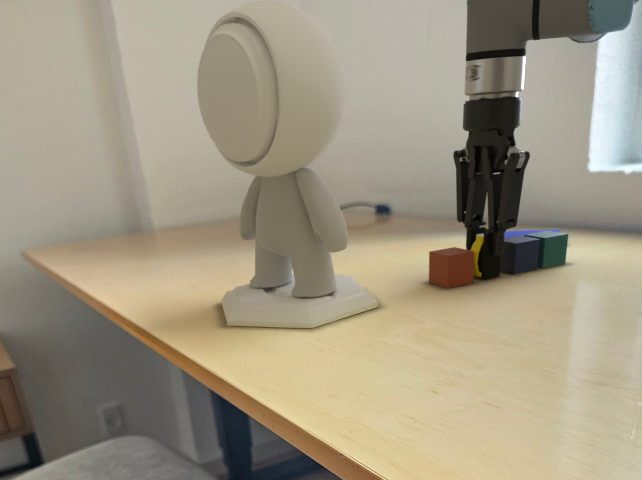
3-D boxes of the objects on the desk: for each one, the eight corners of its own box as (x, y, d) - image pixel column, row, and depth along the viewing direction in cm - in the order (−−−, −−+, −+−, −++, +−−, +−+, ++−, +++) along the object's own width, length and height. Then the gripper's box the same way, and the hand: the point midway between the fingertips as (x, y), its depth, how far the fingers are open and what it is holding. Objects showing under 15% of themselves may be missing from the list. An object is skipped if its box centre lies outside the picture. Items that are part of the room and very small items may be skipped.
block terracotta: (453, 277, 98) (454, 246, 96) (472, 283, 94) (474, 251, 92) (428, 282, 97) (429, 251, 94) (447, 288, 93) (447, 256, 91)
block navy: (516, 265, 102) (519, 235, 100) (537, 269, 99) (540, 239, 97) (493, 269, 101) (495, 239, 99) (513, 274, 97) (516, 243, 95)
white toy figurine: (187, 313, 91) (139, 14, 75) (312, 279, 104) (294, 17, 88) (274, 340, 77) (238, -20, 61) (407, 297, 90) (405, -11, 74)
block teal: (544, 259, 104) (546, 230, 102) (565, 264, 101) (568, 233, 98) (521, 264, 103) (524, 234, 101) (542, 268, 99) (545, 238, 97)
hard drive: (487, 239, 115) (562, 236, 112) (487, 230, 122) (557, 228, 119) (487, 248, 116) (561, 246, 113) (486, 239, 123) (556, 237, 120)
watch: (479, 281, 95) (481, 239, 92) (463, 279, 97) (465, 237, 94) (502, 273, 99) (504, 231, 96) (485, 270, 100) (488, 230, 98)
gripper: (433, 100, 92) (430, 270, 103) (511, 95, 79) (498, 289, 90) (477, 97, 95) (469, 262, 105) (559, 92, 82) (540, 281, 93)
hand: (482, 274), depth 98 cm, fingers open, 3 cm apart
